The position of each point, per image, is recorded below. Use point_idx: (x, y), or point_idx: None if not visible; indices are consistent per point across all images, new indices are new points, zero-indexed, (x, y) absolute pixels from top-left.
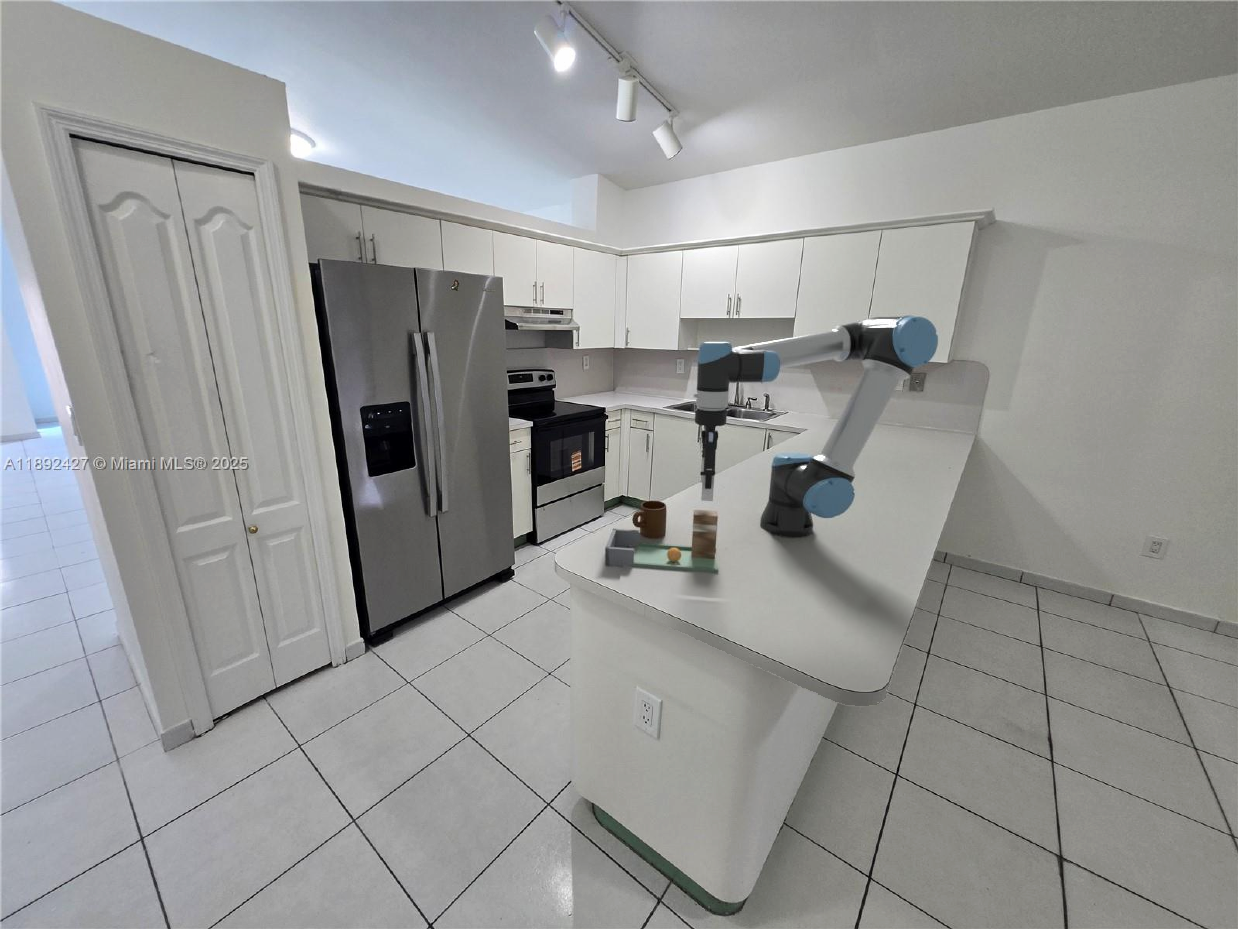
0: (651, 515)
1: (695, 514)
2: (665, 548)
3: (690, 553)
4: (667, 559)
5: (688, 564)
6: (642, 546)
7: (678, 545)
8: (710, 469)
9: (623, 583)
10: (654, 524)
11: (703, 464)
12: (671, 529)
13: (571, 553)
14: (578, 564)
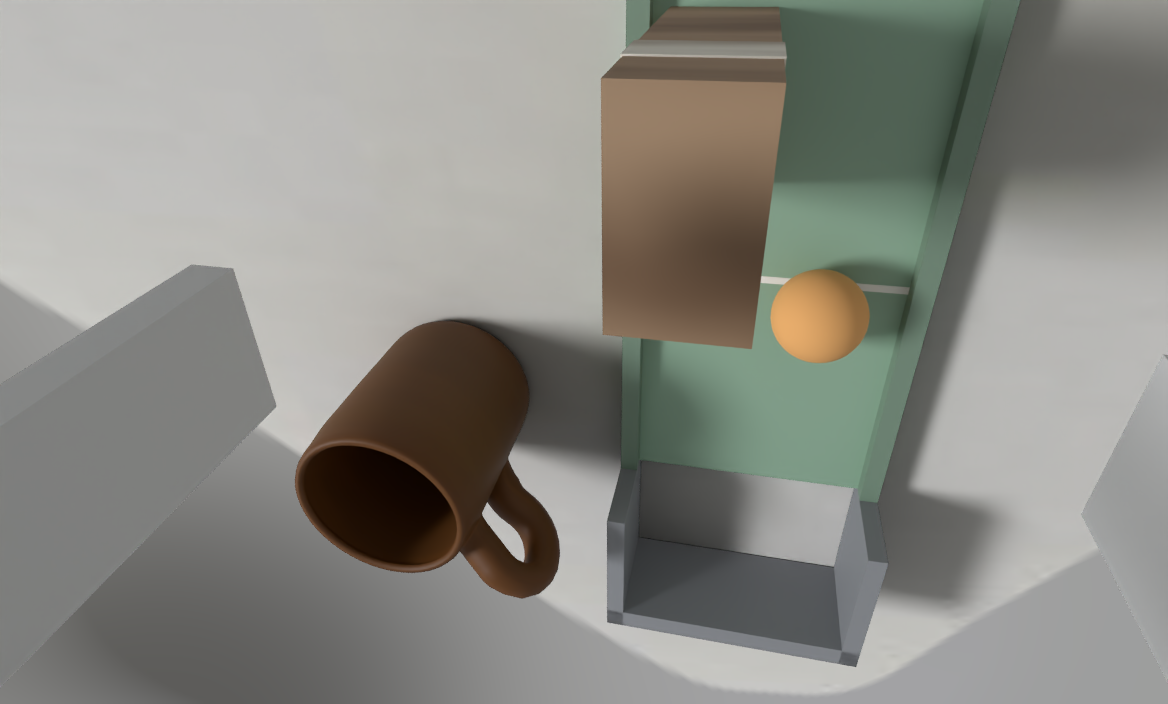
0: (481, 498)
1: (743, 333)
2: None
3: None
4: None
5: (867, 209)
6: (640, 442)
7: None
8: (30, 434)
9: (1037, 526)
10: (499, 439)
11: (6, 635)
12: (358, 278)
13: (726, 676)
14: None
